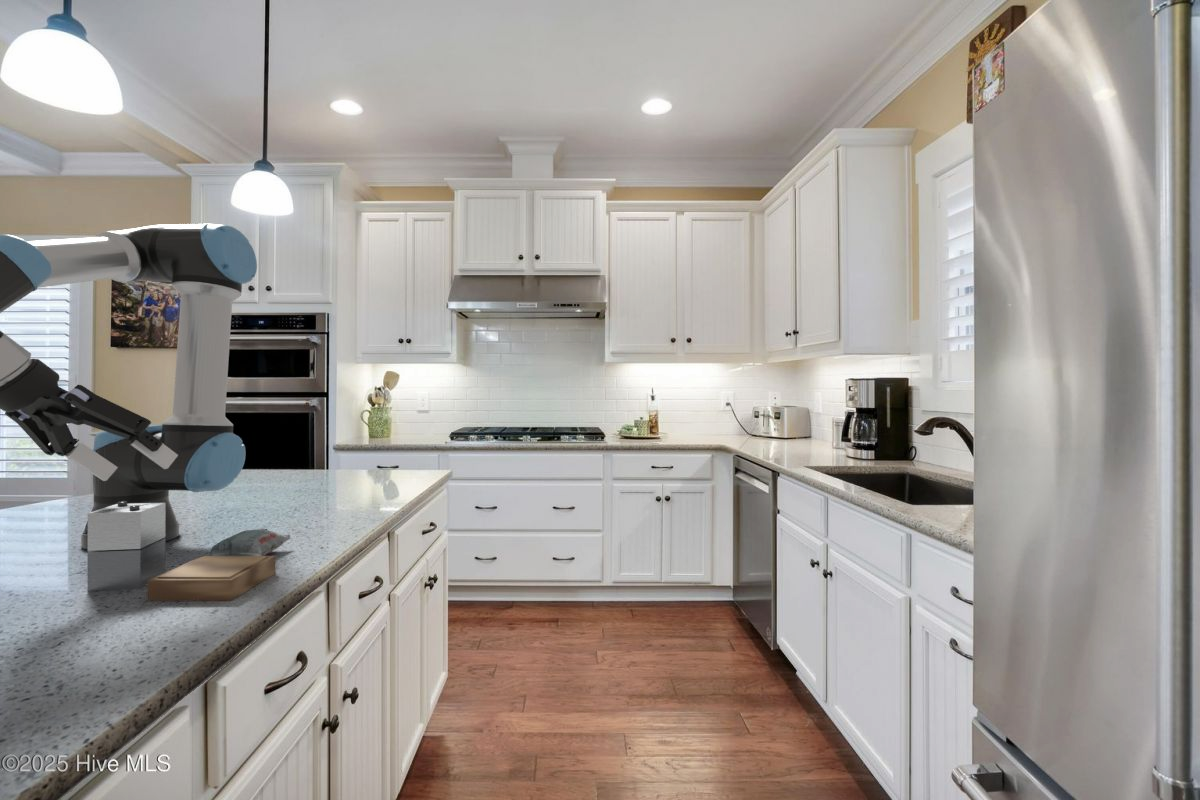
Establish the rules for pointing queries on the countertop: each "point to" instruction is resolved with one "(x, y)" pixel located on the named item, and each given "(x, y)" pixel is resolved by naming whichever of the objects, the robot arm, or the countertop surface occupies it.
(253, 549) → the packaged food
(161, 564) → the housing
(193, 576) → the stand
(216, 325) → the robot arm
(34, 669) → the countertop surface
